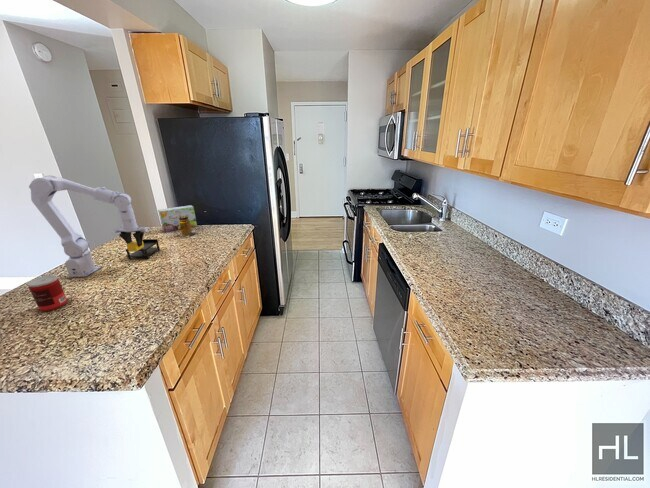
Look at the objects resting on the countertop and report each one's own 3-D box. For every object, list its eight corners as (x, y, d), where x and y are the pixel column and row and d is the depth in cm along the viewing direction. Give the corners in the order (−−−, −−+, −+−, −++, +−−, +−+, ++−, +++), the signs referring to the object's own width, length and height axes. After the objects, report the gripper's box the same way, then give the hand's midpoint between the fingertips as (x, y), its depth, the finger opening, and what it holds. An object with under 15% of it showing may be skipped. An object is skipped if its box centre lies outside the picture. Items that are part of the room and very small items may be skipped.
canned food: (66, 297, 102) (55, 272, 98) (69, 304, 98) (58, 279, 94) (38, 306, 97) (25, 280, 93) (41, 314, 92) (28, 287, 88)
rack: (148, 259, 136) (144, 247, 133) (128, 259, 135) (124, 247, 133) (160, 250, 147) (157, 239, 145) (142, 250, 147) (139, 239, 144)
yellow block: (136, 251, 126) (134, 244, 125) (128, 251, 126) (126, 244, 124) (144, 246, 131) (142, 240, 130) (136, 246, 131) (134, 240, 130)
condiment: (179, 235, 170) (175, 218, 165) (189, 231, 177) (185, 214, 173) (187, 237, 168) (183, 219, 163) (197, 232, 175) (194, 215, 170)
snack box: (164, 232, 175) (159, 211, 170) (162, 230, 179) (157, 209, 174) (197, 226, 189) (193, 206, 183) (194, 224, 192) (191, 204, 187)
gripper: (148, 216, 127) (155, 242, 132) (118, 217, 126) (126, 243, 131) (139, 221, 120) (147, 248, 125) (107, 221, 120) (116, 248, 125)
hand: (135, 245), depth 128 cm, fingers closed on yellow block, 4 cm apart
